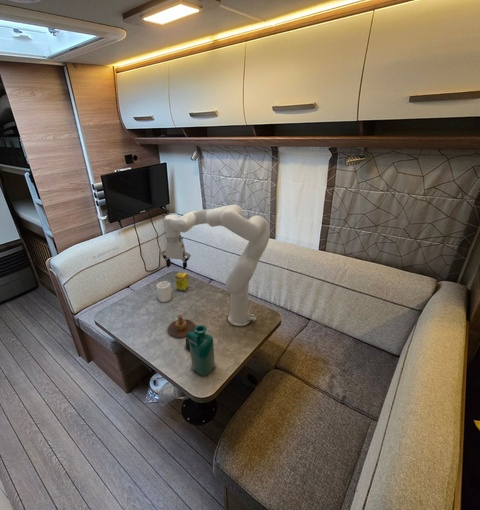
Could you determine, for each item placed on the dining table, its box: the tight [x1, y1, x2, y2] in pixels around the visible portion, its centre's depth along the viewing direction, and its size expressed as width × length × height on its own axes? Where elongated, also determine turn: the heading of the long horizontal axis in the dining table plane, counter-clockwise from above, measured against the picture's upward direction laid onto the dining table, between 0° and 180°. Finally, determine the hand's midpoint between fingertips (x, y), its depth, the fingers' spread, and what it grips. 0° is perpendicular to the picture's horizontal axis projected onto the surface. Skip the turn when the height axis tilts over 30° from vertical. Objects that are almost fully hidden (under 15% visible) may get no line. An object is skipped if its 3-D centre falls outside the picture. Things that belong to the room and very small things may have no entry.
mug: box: [155, 281, 172, 303], centre depth 176 cm, size 12×8×10 cm
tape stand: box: [167, 314, 196, 339], centre depth 148 cm, size 14×14×8 cm
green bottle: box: [186, 324, 216, 377], centre depth 120 cm, size 10×8×22 cm
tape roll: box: [185, 337, 190, 352], centre depth 137 cm, size 7×7×4 cm
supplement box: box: [175, 271, 189, 292], centre depth 185 cm, size 6×6×11 cm
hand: (176, 267), depth 153 cm, fingers open, 9 cm apart
